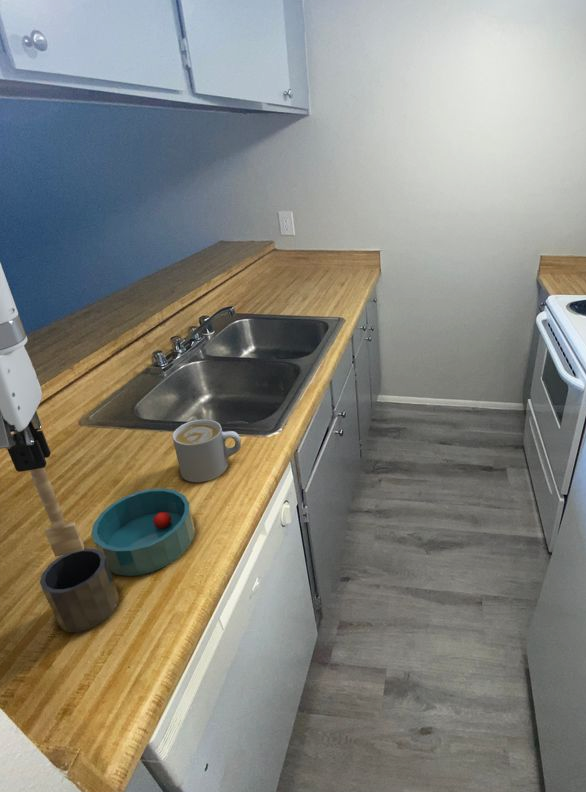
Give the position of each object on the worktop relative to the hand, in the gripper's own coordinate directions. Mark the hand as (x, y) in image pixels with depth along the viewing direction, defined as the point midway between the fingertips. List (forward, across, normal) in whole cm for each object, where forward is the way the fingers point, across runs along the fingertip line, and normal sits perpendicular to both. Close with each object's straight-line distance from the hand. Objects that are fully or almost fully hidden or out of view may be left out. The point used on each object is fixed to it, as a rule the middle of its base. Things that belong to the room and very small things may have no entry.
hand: (34, 462), depth 63 cm
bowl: (+29, -12, +8) cm, 32 cm away
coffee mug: (+29, -30, +20) cm, 46 cm away
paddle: (+17, 0, 0) cm, 17 cm away
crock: (+29, +1, 0) cm, 29 cm away
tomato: (+26, -14, +10) cm, 32 cm away
